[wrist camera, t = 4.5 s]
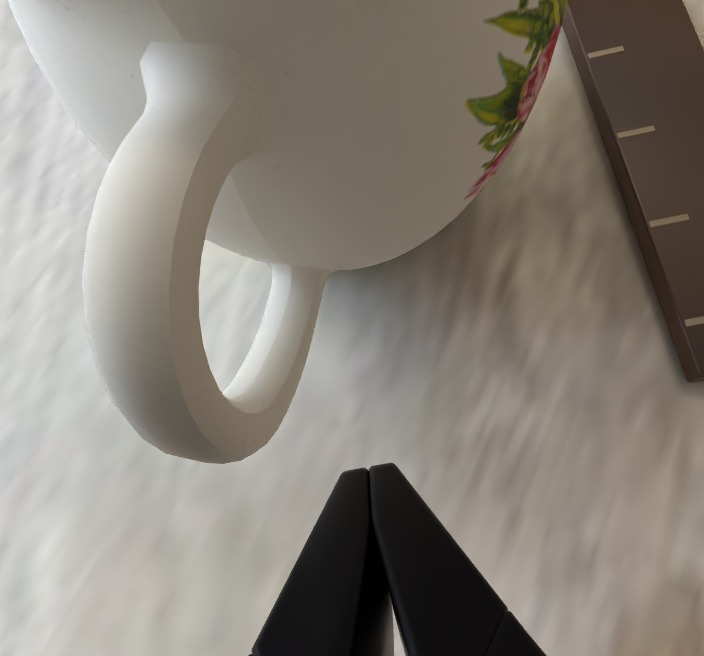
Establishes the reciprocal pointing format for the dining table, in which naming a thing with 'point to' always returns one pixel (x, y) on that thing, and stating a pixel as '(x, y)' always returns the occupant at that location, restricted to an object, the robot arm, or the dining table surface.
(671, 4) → the ruler
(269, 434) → the pitcher
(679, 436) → the dining table surface
